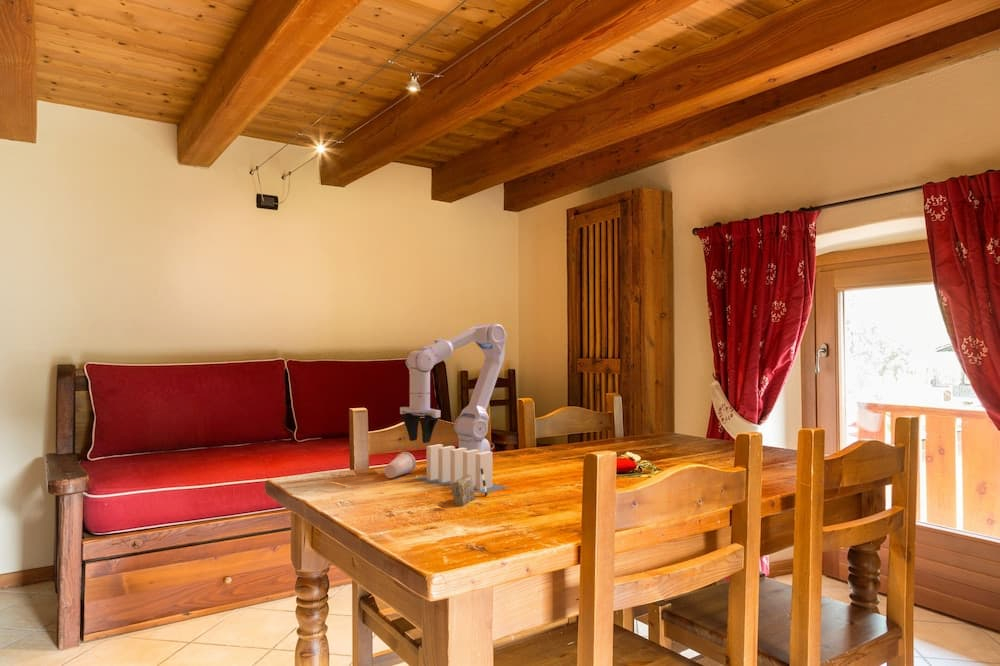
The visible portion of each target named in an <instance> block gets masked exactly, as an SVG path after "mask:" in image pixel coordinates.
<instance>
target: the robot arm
mask: <svg viewBox="0 0 1000 666" xmlns="http://www.w3.org/2000/svg"><path fill="white" fill-rule="evenodd" d="M507 339H508V334H507V332H506V330H505V328H504V326H503V325H501V324H499V323H493V324H490V323H489V324H482V323H479V324H477V325H475V326H470V327H468V329H466V330H464V331H462V332H460V333H459V334H457V335H455V336H454V337H452V338H450V339H448V340H446V339H444V338H436V339H434V342H433V343H431V344H428V345H423V346H421V349H420V350H413V351H411V352H410V353H409V354H408V356H407V358H406V360H405V365H406V367H407V369H408V370H409V371H408V372H409V406H400V407H399V414H400V415H402V416H401V420H402V421H403V423H404V425H405V428H406V430H407V434H408V438H409V439H408V440H409V441H410V442H414V441H417V440H418V434H419V433H418V432H419V431H418V430H419V429H418V428H419V423H420V427H421V437H422V438H421V439H422V443H424V444H427V443H430V442H431V439H432V436H433V432H434V428H435V426H436V424H437V422H438V421H439V418H441V410H440V409H436V408H431V370H432V369H433V368H434V366H435V365H436V364H438V363H440V362H443V361H445V360H447V359H449V358H451V356H452V355H453V352H454V351H455V350H458V349H460V348H462V347H464V346H467V345H469V344H470V343H473V342H474V343H475V344H476V346H477V347H478V348H479V349H480V351H481V352H483V354H484V357H485V358H484V361H483V364H482V367H481V370H480V372H479V375H478V378H477V381H476V384H475V387H474V388H473V392H472V394H471V398H470V400H469V403H468V405H467V406H465V407H464V408H463V409H462V410H461V413H459V416H457V418H456V419H455V421H454V424H453V428H454V431H455V433H456V434H457V439H458V448H467V451H469V450H474V449H476V450H480V453H482V452H487V451H490V452H491V445H490V441H489V440H488V439H487V438H485V437H486V435H487V434H488V430H489V420H490V416H489V414H488V412H487V409H488V407H489V403H490V399H491V397H492V395H493V392H494V388H495V386H496V384H497V380H498V377H499V374H500V371H501V369H502V365H503V363H504V360H505V356H506V355H505V354H506V352H505V351H506V348H505V347H506V342H507Z"/></svg>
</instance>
